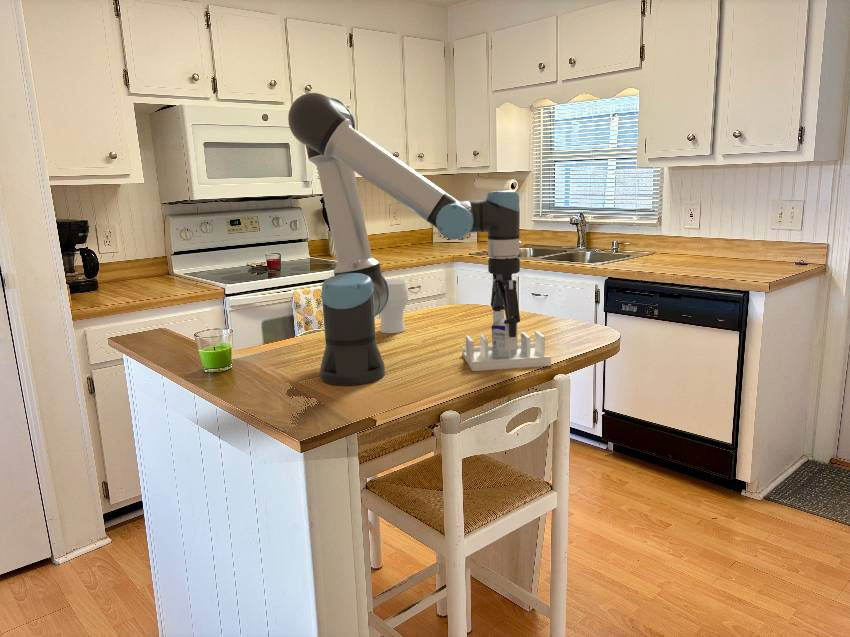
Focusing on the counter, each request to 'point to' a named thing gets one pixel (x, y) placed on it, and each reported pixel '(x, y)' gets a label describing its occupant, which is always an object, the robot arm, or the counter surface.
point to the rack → (524, 357)
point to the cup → (394, 307)
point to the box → (500, 341)
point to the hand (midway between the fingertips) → (504, 342)
